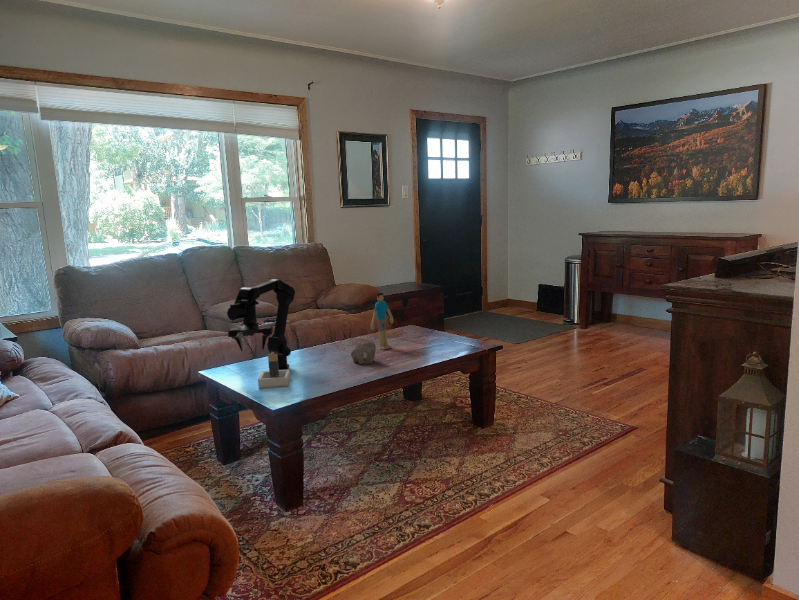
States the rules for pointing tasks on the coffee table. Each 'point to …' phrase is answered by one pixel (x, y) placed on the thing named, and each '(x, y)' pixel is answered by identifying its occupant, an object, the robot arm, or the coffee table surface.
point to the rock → (364, 353)
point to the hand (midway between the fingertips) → (252, 350)
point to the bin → (274, 379)
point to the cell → (273, 365)
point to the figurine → (381, 320)
